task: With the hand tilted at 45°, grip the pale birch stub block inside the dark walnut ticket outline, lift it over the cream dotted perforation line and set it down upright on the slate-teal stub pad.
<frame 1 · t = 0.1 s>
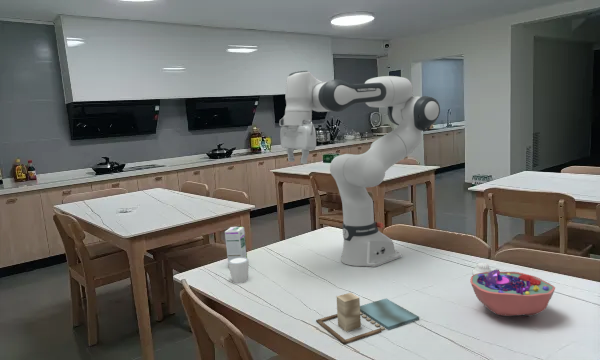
hand: (297, 162, 150), 39 cm above the table, tool pointing down, fingers open, 8 cm apart
muffin: (482, 285, 137), on the table
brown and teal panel: (368, 320, 119), on the table
syrup box: (238, 266, 168), on the table
birch stub block: (349, 326, 116), resting in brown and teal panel
white cylinder: (240, 280, 154), on the table
cell model: (510, 313, 118), on the table
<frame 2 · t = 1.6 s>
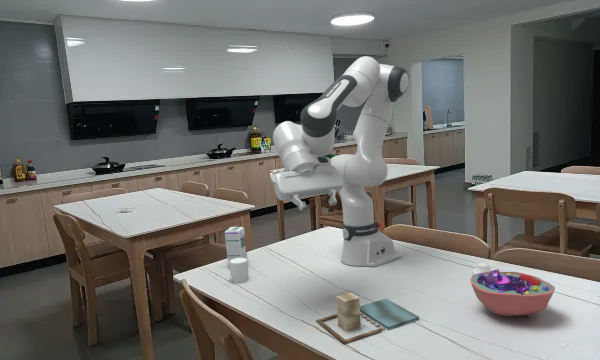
hand: (319, 206, 123), 30 cm above the table, tool tilted 45°, fingers open, 8 cm apart
nothing on the table moved.
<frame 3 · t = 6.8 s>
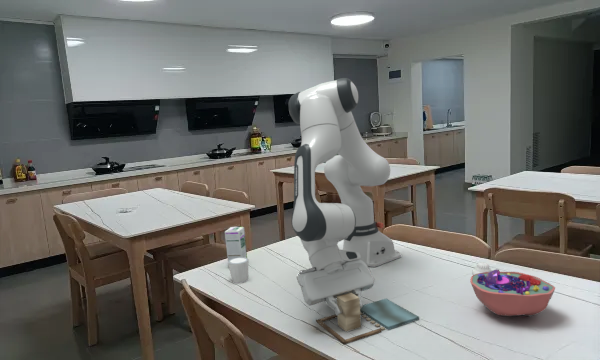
hand: (349, 311, 115), 4 cm above the table, tool tilted 45°, fingers closed on birch stub block, 4 cm apart
birch stub block: (349, 326, 116), resting in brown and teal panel, touching gripper
everything else where it was.
when the fingers open (7 cm above the table, at t = 14.3 s): birch stub block drops 1 cm, resting on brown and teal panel.
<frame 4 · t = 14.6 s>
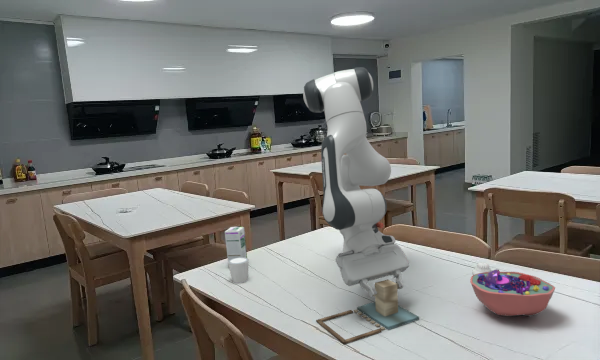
hand: (387, 291, 120), 7 cm above the table, tool tilted 45°, fingers open, 7 cm apart
birch stub block: (386, 311, 121), point 1 cm above the table, touching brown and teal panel
everything else where it was.
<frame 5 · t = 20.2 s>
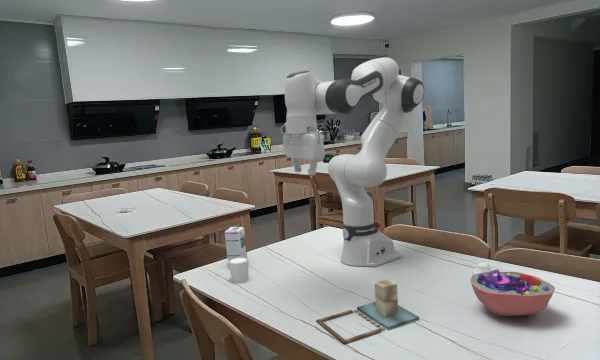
hand: (304, 173, 135), 37 cm above the table, tool pointing down, fingers open, 8 cm apart
nothing on the table moved.
at the end: birch stub block inside the target area on the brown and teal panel (0.0 cm from its centre), point 0.8 cm above the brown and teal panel's base; birch stub block tilted 0°; the gripper is holding nothing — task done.
